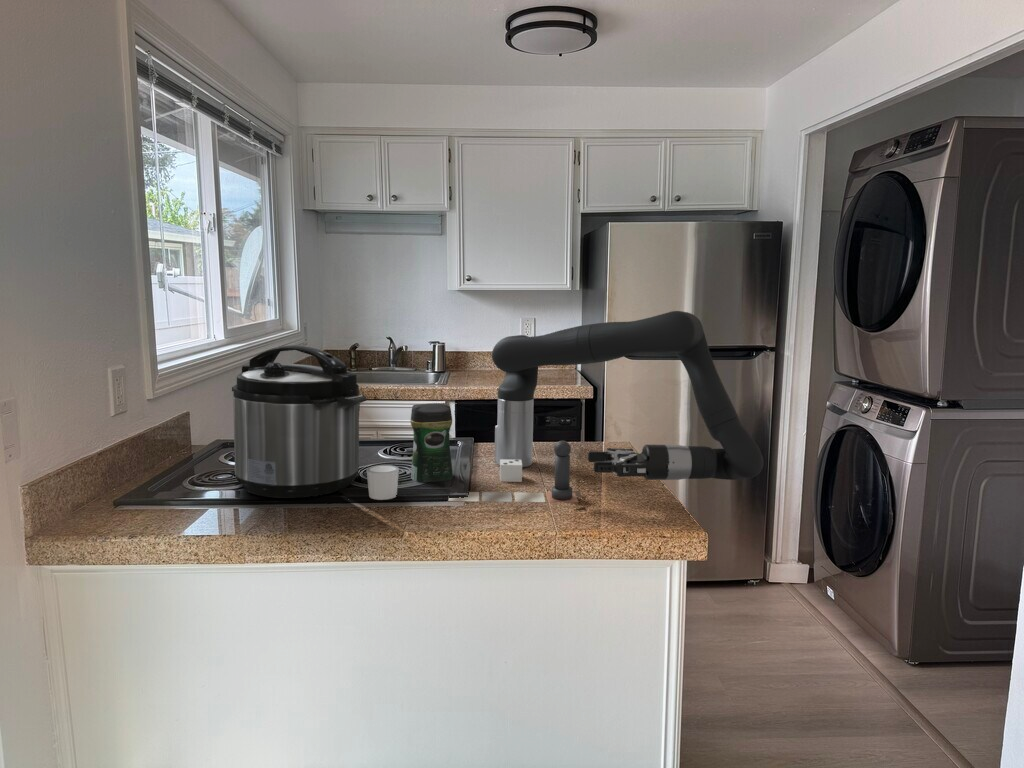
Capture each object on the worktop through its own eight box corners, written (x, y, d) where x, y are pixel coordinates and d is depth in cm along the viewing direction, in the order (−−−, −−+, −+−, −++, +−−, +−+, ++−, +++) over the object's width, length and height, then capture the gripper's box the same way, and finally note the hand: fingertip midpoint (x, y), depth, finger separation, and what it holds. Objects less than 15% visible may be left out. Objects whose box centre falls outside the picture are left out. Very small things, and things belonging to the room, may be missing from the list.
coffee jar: (447, 475, 168) (448, 399, 165) (455, 484, 160) (456, 405, 157) (407, 478, 164) (407, 401, 162) (414, 487, 157) (414, 407, 154)
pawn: (547, 496, 149) (547, 440, 147) (562, 492, 152) (563, 437, 150) (561, 501, 146) (561, 444, 144) (576, 497, 148) (577, 441, 146)
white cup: (405, 498, 149) (405, 466, 148) (387, 507, 143) (386, 474, 142) (379, 493, 152) (379, 462, 151) (360, 502, 146) (359, 470, 145)
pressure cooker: (386, 490, 154) (385, 349, 150) (256, 512, 138) (250, 355, 133) (337, 460, 179) (335, 338, 174) (221, 476, 162) (215, 342, 158)
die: (500, 485, 160) (500, 464, 159) (499, 479, 165) (500, 458, 164) (521, 486, 160) (522, 464, 159) (520, 479, 165) (521, 459, 164)
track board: (441, 508, 143) (441, 503, 143) (444, 494, 153) (444, 489, 153) (585, 510, 144) (585, 505, 144) (579, 495, 154) (579, 490, 154)
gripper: (658, 437, 155) (586, 437, 154) (676, 453, 141) (596, 452, 140) (657, 470, 156) (585, 469, 155) (674, 488, 142) (595, 488, 141)
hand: (591, 461), depth 148 cm, fingers open, 8 cm apart
